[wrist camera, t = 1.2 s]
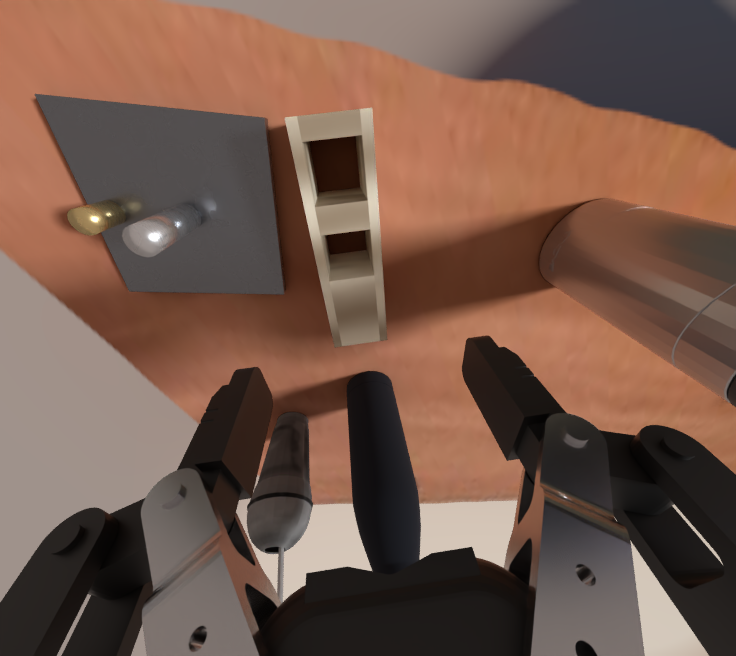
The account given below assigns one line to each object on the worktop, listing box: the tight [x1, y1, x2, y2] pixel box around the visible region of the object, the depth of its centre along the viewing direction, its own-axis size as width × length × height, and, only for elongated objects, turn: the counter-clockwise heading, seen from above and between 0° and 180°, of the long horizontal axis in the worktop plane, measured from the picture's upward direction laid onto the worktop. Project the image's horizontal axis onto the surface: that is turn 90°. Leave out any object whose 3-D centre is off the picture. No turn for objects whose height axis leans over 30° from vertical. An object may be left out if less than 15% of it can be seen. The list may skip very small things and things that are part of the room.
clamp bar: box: [285, 108, 387, 347], centre depth 23 cm, size 17×5×6 cm, turn 5°
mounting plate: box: [35, 94, 286, 294], centre depth 20 cm, size 14×14×8 cm
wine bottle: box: [347, 371, 421, 574], centre depth 25 cm, size 6×6×30 cm
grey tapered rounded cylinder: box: [247, 412, 313, 603], centre depth 32 cm, size 7×7×20 cm
